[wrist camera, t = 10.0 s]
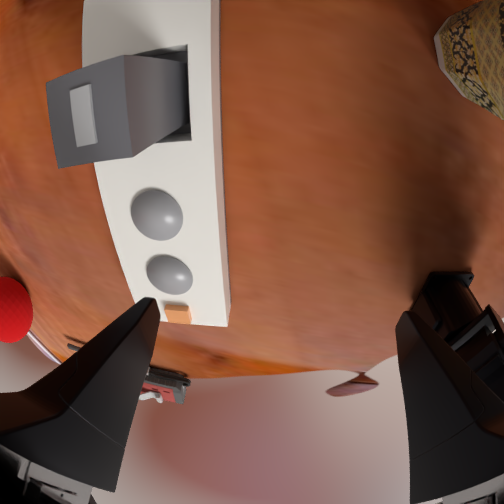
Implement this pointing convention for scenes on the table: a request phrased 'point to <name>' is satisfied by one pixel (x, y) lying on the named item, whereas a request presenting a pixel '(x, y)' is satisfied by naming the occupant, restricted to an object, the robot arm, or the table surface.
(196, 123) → the power strip
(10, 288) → the ornament
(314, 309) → the table surface
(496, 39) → the ceramic cup
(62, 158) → the grey rectangular block
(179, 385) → the walkie-talkie
